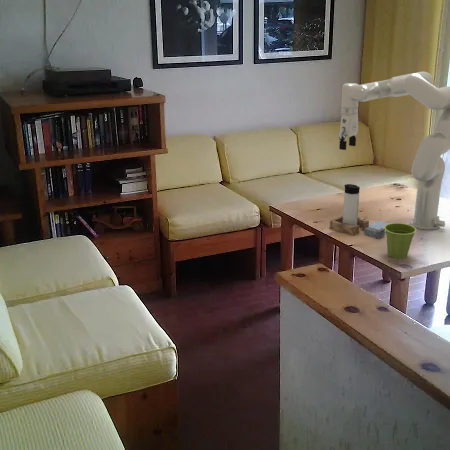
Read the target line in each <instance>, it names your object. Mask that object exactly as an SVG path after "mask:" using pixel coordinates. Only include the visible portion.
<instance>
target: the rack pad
mask: <svg viewBox="0 0 450 450" xmlns="http://www.w3.org/2000/svg"><path fill="white" fill-rule="evenodd" d="M387 224H390V223H389V222H385V221H383V220H382V221H380V220H376V221H375V222H373V223H371V224H369V227H371V228H374V229H378V230H379V229H381V228H383V229H384V226H385V225H387ZM384 234H386V230H385V232H384Z"/></svg>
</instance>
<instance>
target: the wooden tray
mask: <svg viewBox="0 0 450 450" xmlns="http://www.w3.org/2000/svg"><path fill="white" fill-rule="evenodd" d="M369 225H370V221H369V220H366V219H362V218H360V217H359V218H358V219H357V225H356V226H351V225H347V224H343V215H341V216H339V217H336V218H334V219H332V220H330V221H329V229H331V230H334V231H338V232H341V233H345V234H347V233H348V235H351V236H356V235H358V234H360V230H361V231H363V232H364V229H365V228H367V227H369ZM360 228H361V229H360Z"/></svg>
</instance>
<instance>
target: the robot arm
mask: <svg viewBox="0 0 450 450" xmlns="http://www.w3.org/2000/svg"><path fill="white" fill-rule="evenodd" d="M341 90H342V91H341V92H342V93H341V108H340V109H341V111H340V114H341V118H340V125H339V132H338V139H339V140H338V141H339V146H338V147H339V149H338V150H342V151H346V150H347V139H348V145H349V147H356V145H357V143H356V142H357V135H358V133H359V102H360V103H361V102H362V103H363V102H369V101H372V100H377V99H383V98H387V97H393V98H398V97H403V96H410V97H412V98H413V99H414V100H416V101H417V102H419V103H420V104H422V105H423V106H424V107H426V108H427V109H429V110H431V111H434V112H436V111H437V112H438V111H441V110H442V111H441V114H440V115H439V117H438V119H437V121H436V124H435V127H434V128H433V129H434V130H433V132H432V133H431V134H428V135H427V136H425V137H424V138H423V139H422V140H421V142H420V144H419V146H418V148H417V151H416V154H415V156H414V159H413V161H412V162H413V163H412V165H411V175H412V177H413V178H414V180H415V181H416V182H417V181H418V182H417V186H416V187H417V190H416V196H415V197H416V198H415V205H414V214H413V218H412V219H411V220H409V225H411V226H413V227H415V228H416V229H417V230H418V229H419V230H428V231H433V230H437V229H439V228H440V227H443V228H444V227H445V226H446V223H445V222H446V221H445V220H440V215H439V214H438V213H439V205H440V197H441V190H442V183H443V180H444V179H443V178H444V175H445V171H446V163H445V161H444V158H443V157H442V155H445V154H446V153H448V152H449V151H450V86H442V87H437V86H435V85H434V78H433V76H432V74H431V73H429V72H427V71H418V72H414V73H407V74H402V75H398V76H393V77H391V78H389V79H385V80H379V81H375V82H374V81H373V82H367V83H362V84H358V83H355V82H348V83H347V82H345V83H344V84H343V85H342V89H341ZM348 137H349V138H348ZM438 215H439V216H438Z"/></svg>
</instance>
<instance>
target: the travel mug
mask: <svg viewBox="0 0 450 450" xmlns="http://www.w3.org/2000/svg"><path fill="white" fill-rule="evenodd" d="M360 189H361V188H360V186H358V185H356V184H353V183H345V184H344V195H343V208H342V209H343V211H342V216H343V224H347V225H351V226H356V225H357V219H358V217H359V216H358V215H359V203H360Z"/></svg>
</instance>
